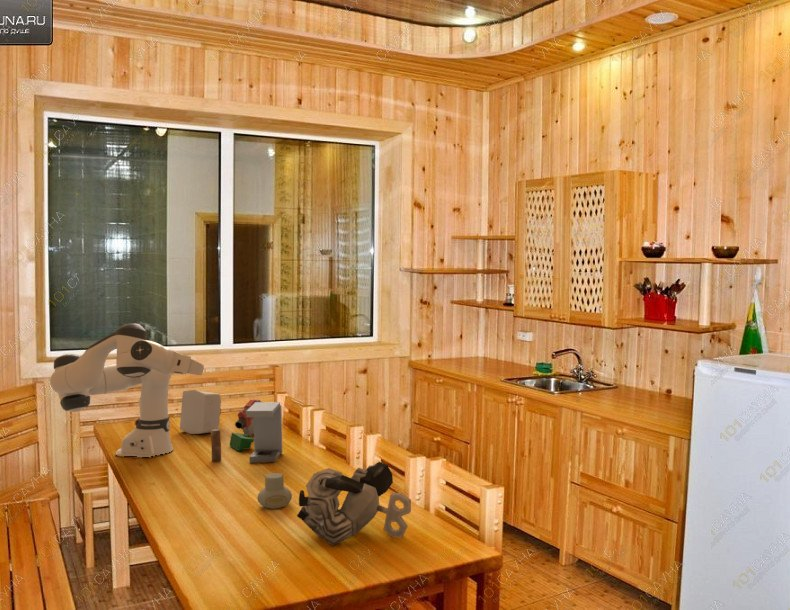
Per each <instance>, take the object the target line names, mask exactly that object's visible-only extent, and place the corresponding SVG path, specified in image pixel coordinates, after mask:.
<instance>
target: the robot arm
mask: <svg viewBox="0 0 790 610" xmlns="http://www.w3.org/2000/svg"><path fill="white" fill-rule="evenodd" d="M147 338H148V331H147V330H146V329H145V328H144V327H143V325H141V324H140V323H134V322H131V323H126V324H124V325H120V327H119V328H118V329H116V330H115V331H113V332H112V333H110V334H108V335H107V336H105V337H103V338H102V339H100V340H98V341H97V342H94V343H93V344H91V345H89V346H88V347H87V348H86V349H85V351H84V353H83V354H81V355H80V354H77V353H65V354H62V355H60V356H58V357H56V358H55V359H54V361H53V370H54V371H53V373H52V374H51V375H50V379H49V384H50V386H51V388H52V390H53V391H54V392H55V393H57V394H58V399H59V400H60V402H59V404H60V405H61V409H62V410H64V411H66V412H70V413H77V412H78V413H79V412H81V411H82V410H85V409H86V408H88V407H89V405H91V396H98V395H103V394H111V393H116V392H121V391H125V390H128V389H130V388H134V387H138V386H140V385H141V389H140V397H139V400H138V401H139V403H138V405H139V406H138V407H139V417H138V418H137V419H136V420H135V421H134V422H133V423H134V426H135V428H134V429H133V430H131V431H130V432H129V433H127V434H126V436H124V437H123V438H122V441H121V447H120V448H118V449H117V450H116V451H115V456H116V455H122V456H121V457H124V456H137V457H136V458H142V457H149V458H152V457H151V456H153V457H156V456H155V455H157V456H161V455H160V454H163V455H166V454H165V453H167V454H169V452H170V453H172V452H173V451H174V447H173V444H172V440H171V436H170V435H171V434H170V429H171V422H170V416H169V408H168V407H169V404H168V397H169V389H170V382H171V381H170V380H171V378H172V374H181V375H187V374H191V375H197V376H202V375H203V372H204V369H205V366H204V364H202V363H201V362H199V361H197V360H195V359H193V358H192V357H191V356H190V355H188V354H185V353H180V352H178V351H176V350H173V349H171V348H170V347H167V346H164V345H162V344H160V343H157V342H155V341H153V340H147ZM114 350H116V357H115V358H116V360H115V361H116V363H113V364H106V361H107V358H108V357H109V355H110V353H111V352H113V351H114ZM105 364H106V365H105ZM172 450H173V451H172ZM171 451H172V452H171Z"/></svg>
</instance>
